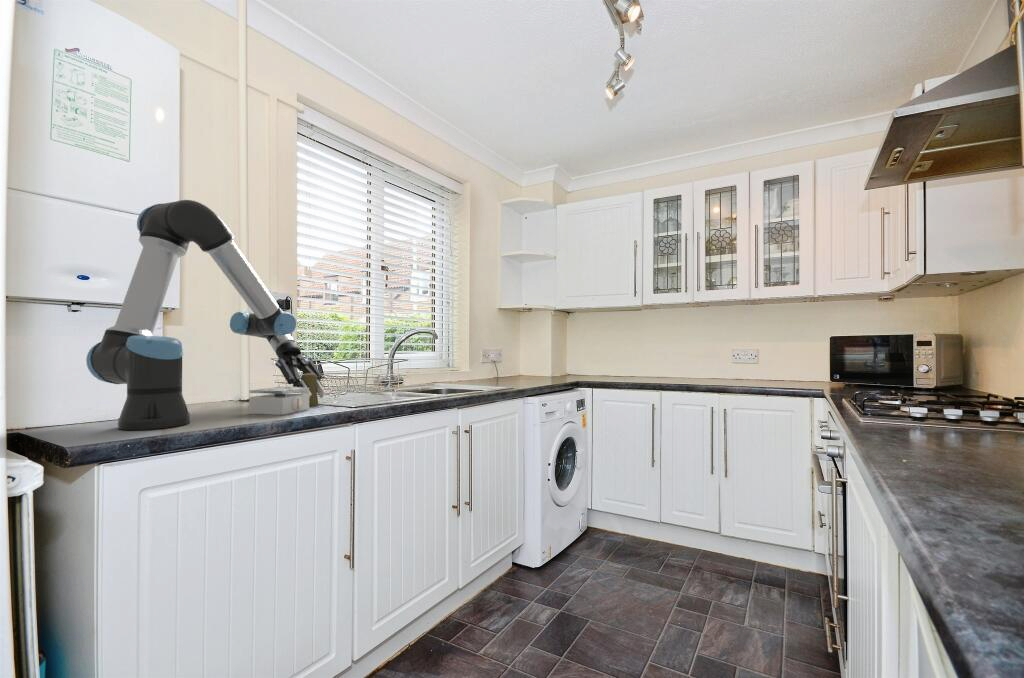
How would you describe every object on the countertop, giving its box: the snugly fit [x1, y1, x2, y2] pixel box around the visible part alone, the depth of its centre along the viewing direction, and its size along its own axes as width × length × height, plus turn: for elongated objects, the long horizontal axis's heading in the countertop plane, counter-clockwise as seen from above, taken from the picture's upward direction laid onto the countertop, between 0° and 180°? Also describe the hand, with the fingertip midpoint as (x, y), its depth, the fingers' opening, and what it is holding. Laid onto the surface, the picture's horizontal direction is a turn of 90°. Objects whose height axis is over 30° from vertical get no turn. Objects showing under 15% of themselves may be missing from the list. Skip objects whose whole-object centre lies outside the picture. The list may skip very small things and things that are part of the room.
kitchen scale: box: [248, 392, 310, 416], centre depth 152 cm, size 12×13×6 cm
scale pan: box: [248, 386, 309, 395], centre depth 153 cm, size 12×12×1 cm
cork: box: [300, 373, 319, 407], centre depth 167 cm, size 6×6×11 cm
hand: (316, 396), depth 165 cm, fingers closed on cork, 5 cm apart
